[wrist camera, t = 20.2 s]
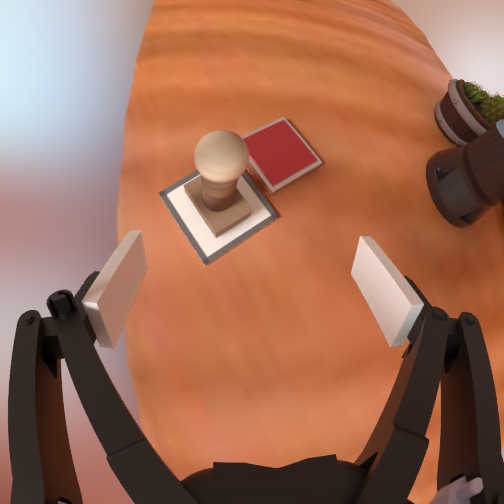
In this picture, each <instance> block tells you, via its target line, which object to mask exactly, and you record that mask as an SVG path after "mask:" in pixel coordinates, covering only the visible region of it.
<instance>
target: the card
mask: <svg viewBox="0 0 504 504" xmlns="http://www.w3.org/2000/svg"><path fill="white" fill-rule="evenodd" d="M200 175H201V174H200V173H199V172H198V170H196V171H195V172H193V173H191V174H189V175H188V176H186V177H184V178H183V179H181V180H179V181H178V182H176V183H174V184H173V185H171V186H169V187H168V188H166V189H165V190H163V191H161V192H160V193H159V195H160V197H161V199H162V200H163V202H164V203H165V205H166V207H167V208H168V210H169V211H170V213H171V215H172V216H173V218H174V219H175V221H176V222H177V224H178V226H179V227H180V229H181V230H182V232H183V233H184V235H185V236H186V238H187V239H188V241H189V242H190V244H191V245H192V247H193V249H194V250H195V252H196V253H197V255H198V256H199V258H200V259H201V261H202V262H203V264H204V265H205V266H206V265H208V264H209V263H211V262H212V261H214V260H215V259H217V258H218V257H220V256H221V255H223V254H224V253H226V252H227V251H229V250H230V249H232V248H233V247H235V246H236V245H238V244H239V243H241V242H242V241H244V240H245V239H247V238H248V237H250V236H251V235H253V234H254V233H256V232H257V231H259V230H260V229H262V228H264V227H265V226H267V225H268V224H270V223H271V222H273V221H274V220H276V219H277V218H278V217H279V216H278V215H277V214H276V212H275V211H274V209H273V208H272V207H271V205H270V204H269V203H268V201H267V200H266V199H265V197H264V196H263V194H262V193H261V192H260V190H259V189H258V188H257V186H256V185H255V184H254V182H253V181H252V180H251V178H250V177H249V176H248V174H247V173H246V172H245V171H244V173H243V174H242V175H241V176H240V177H239V178H238V182H237V186H236V188H237V189H238V190H239V192H240V193H241V195H242V196H243V197H244V199H245V200H246V201H247V203H248V204H249V206H250V207H251V208H252V210H253V211H252V213H251V215H250V216H249V217H248V218H246V219H245V220H243V221H242V222H240V223H238V224H237V225H235V226H234V227H232V228H231V229H229V230H227V231H226V232H224V233H223V234H221V235H220V236H218V237H217V238H215V236H214V235H213V233H212V232H211V230H210V229H209V227H208V226H207V224H206V223H205V221H204V220H203V218H202V217H201V215H200V214H199V212H198V211H197V209H196V208H195V206H194V205H193V203H192V202H191V200H190V199H189V197H188V196H187V194H186V193H185V189H184V185H185V184H186V183H188V182H190V181H191V180H193V179H195V178H196V177H198V176H200Z"/></svg>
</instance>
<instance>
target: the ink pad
mask: <svg viewBox="0 0 504 504" xmlns="http://www.w3.org/2000/svg"><path fill="white" fill-rule="evenodd" d="M241 138H242V139H243V140H244V141H245V143H246V145H247V147H248V151H249V162H248V166H249V168H250V169H251V170H252V172H253V173H254V174H255V176H256V177H257V178H258V180H259V181H260V182H261V184H262V185H263V186H264V188H265V189H266V190H267V192H268V193H269V194H270V196H271V195H272V194H274V193H276V192H277V191H279V190H281V189H282V188H284V187H286V186H287V185H289V184H290V183H292V182H294V181H296V180H297V179H299V178H301V177H302V176H304V175H306V174H307V173H309V172H311V171H312V170H314V169H316V168H318V167H319V166H320V165H321V164H322V161H321V160H320V159H319V158H318V156H317V155H316V154H315V153H314V151H313V150H312V149H311V148H310V146H309V145H308V144H307V143H306V142H305V140H304V139H303V138H302V137H301V136H300V134H299V133H298V132H297V131H296V130H295V129H294V128H293V126H292V125H291V124H290V123H289V122H288V121H287V120H286V118H285V117H282V118H280V119H278V120H275V121H273V122H271V123H269V124H267V125H264V126H262V127H260V128H258V129H256V130H254V131H252V132H250V133H248V134H245V135H243V136H241Z"/></svg>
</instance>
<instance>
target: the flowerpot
mask: <svg viewBox="0 0 504 504" xmlns="http://www.w3.org/2000/svg"><path fill="white" fill-rule="evenodd" d="M478 88H480V87H477V85H476V86H475V85H474V84H471V83H470V82H466V83H465V81H464V80H462V79H461V80H457V79H453V80H450V83H449V84H448V92H447V93H446V95H445V96H444V98H443V100H440V101H438V102H437V105H436V107H435V120H436V122H437V124H438V127H439V129H440V130H441V131H442V133H445V134H444V135H445V137H446V138H447V139H448V140H449V141H451V142H452V143H454V144H456V145H458V146H462V147H463V146H465V145H467V144H468V143H470V142H471V141H473V140H474V139H476V138H477V137H479V136H480V135H482V134H483V133H485V132H486V131H488V130H489V129H491V128H492V127H494V126H495V125H496V123H497V122H498V121H500V120H501V121H502V119H503V120H504V97H503V98H502V97H500V96H499V95H497V96H494V97H493V98H492V96H489V94H487V92H486V91H483V90H481V89H480V90H481V91H480V90H479V89H478ZM490 97H491V98H490Z"/></svg>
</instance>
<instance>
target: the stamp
mask: <svg viewBox="0 0 504 504" xmlns="http://www.w3.org/2000/svg"><path fill="white" fill-rule="evenodd" d="M194 162H195V166H196V168H197V170H198V172H199V173H200V174H201V175H200V176H198V177H196V178H195V179H193V180H191V181H190V182H188V183H186V184H185V185H184V189H185V193H186V194H187V196H188V197H189V199H190V200H191V202H192V203H193V205H194V206H195V208H196V209H197V211H198V212H199V214H200V215H201V217H202V218H203V220H204V221H205V223H206V224H207V226H208V227H209V229H210V230H211V232H212V233H213V235H214V236H215V238H217V237H218V236H220V235H221V234H223V233H224V232H226V231H227V230H229V229H231V228H232V227H234V226H235V225H237V224H238V223H240V222H242V221H243V220H245V219H246V218H248V217H249V216H250V215H251V213H252V211H253V210H252V208H251V207H250V206H249V204H248V203H247V201H246V200H245V199H244V197H243V196H242V195H241V193H240V192H239V190H238V189H237V188H236V186H237V182H238V178H239V177H240V176H241V175H242V174H243V173H244V171H245V170H246V168H247V165H248V162H249V151H248V147H247V145H246V143H245V141H244V140H243V139H242V138H241V137H240V136H239V135H237V134H236V133H234V132H231V131H228V130H217V131H213V132H210V133H208V134H207V135H205V136H204V137H203V138H202V139H201V140H200V141H199V143H198V144H197V146H196V149H195V153H194Z"/></svg>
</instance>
